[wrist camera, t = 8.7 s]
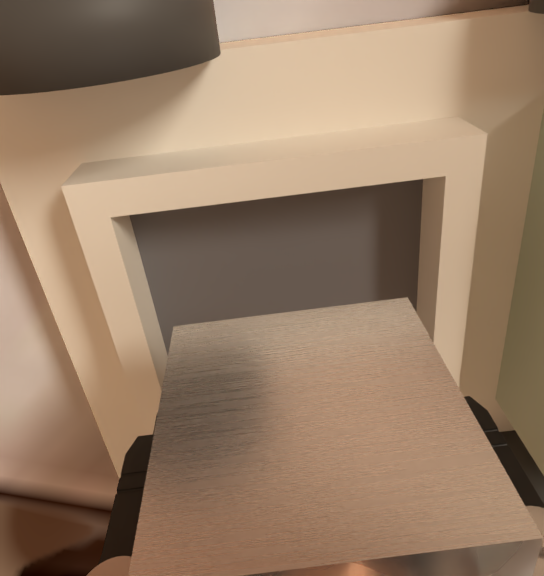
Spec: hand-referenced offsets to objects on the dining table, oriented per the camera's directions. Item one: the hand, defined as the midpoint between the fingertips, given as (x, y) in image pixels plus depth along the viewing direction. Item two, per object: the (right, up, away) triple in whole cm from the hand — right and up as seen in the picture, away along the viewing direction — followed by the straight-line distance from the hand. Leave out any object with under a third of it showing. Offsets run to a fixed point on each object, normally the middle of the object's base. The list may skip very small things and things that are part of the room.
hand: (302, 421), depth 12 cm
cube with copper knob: (0, 0, +1) cm, 1 cm away
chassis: (+3, +4, +7) cm, 8 cm away
